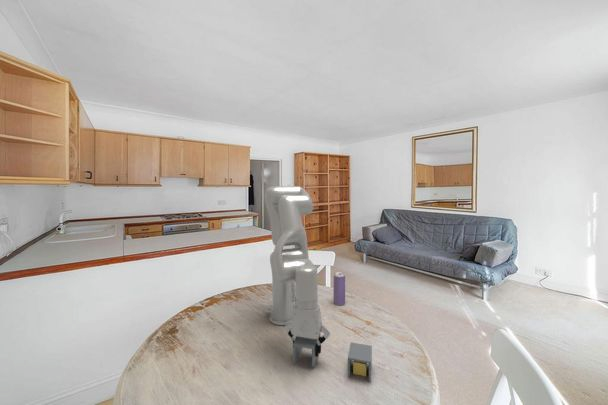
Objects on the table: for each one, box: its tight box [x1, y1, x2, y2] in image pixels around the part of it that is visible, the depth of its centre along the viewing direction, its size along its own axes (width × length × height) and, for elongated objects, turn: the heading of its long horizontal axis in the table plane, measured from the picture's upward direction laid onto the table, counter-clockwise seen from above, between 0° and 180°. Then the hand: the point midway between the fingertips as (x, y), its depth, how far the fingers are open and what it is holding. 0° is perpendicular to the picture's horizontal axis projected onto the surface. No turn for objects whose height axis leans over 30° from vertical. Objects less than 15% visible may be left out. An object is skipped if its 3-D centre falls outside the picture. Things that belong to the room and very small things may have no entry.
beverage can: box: [332, 272, 346, 306], centre depth 127 cm, size 6×6×15 cm
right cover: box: [347, 341, 373, 383], centre depth 80 cm, size 7×8×6 cm
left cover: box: [292, 336, 318, 368], centre depth 85 cm, size 7×8×6 cm
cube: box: [352, 360, 368, 377], centre depth 80 cm, size 4×4×4 cm
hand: (306, 351), depth 85 cm, fingers closed on left cover, 7 cm apart
